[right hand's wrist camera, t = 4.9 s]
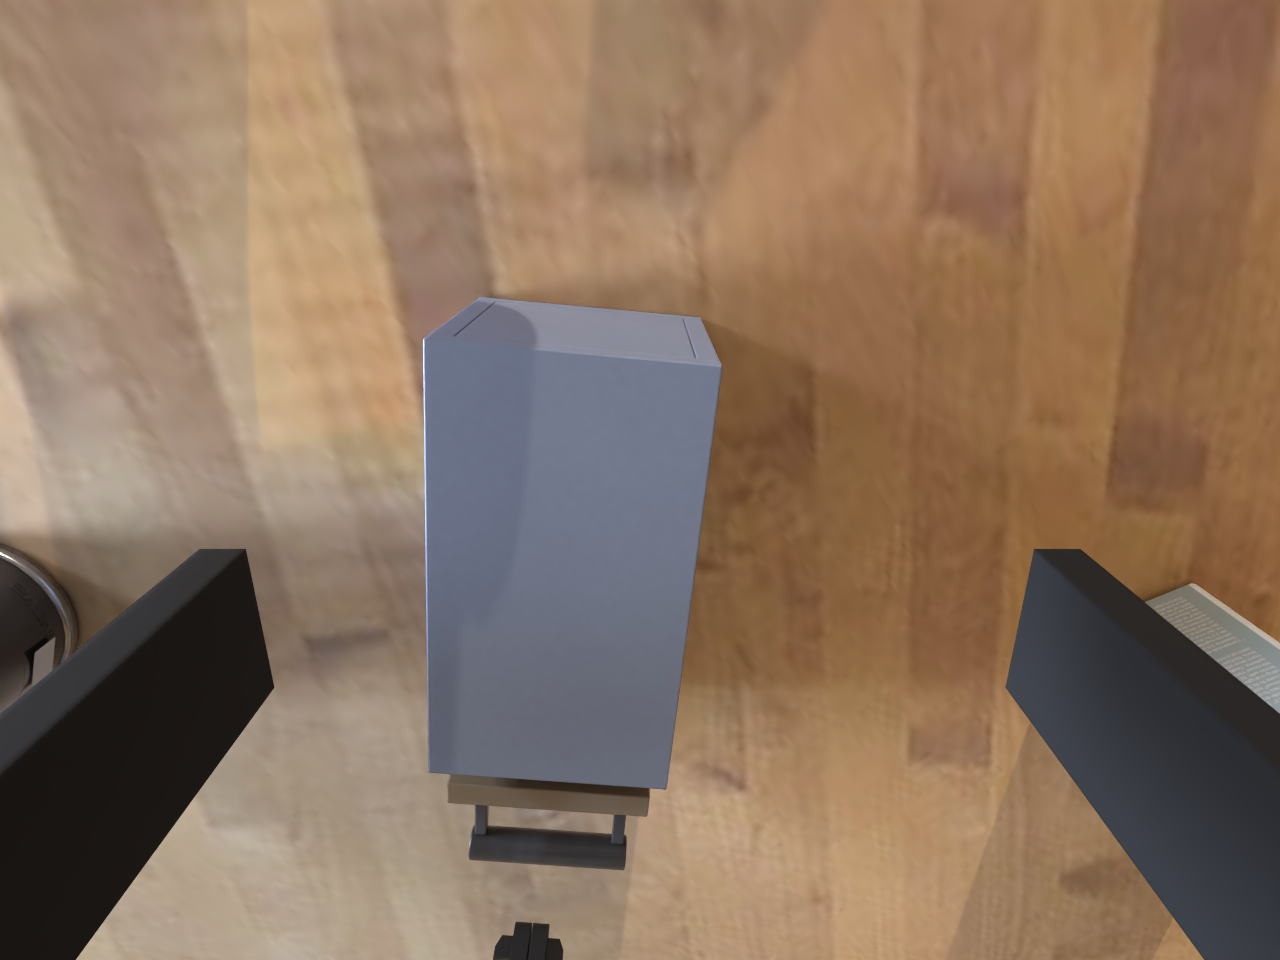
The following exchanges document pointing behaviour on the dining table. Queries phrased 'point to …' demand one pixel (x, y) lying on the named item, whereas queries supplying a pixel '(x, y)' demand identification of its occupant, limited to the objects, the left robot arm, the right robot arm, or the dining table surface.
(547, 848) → the drawer
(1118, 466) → the dining table surface
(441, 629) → the cabinet
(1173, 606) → the hard drive box
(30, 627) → the left robot arm
